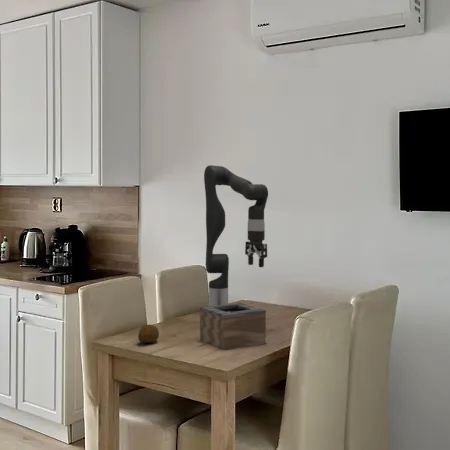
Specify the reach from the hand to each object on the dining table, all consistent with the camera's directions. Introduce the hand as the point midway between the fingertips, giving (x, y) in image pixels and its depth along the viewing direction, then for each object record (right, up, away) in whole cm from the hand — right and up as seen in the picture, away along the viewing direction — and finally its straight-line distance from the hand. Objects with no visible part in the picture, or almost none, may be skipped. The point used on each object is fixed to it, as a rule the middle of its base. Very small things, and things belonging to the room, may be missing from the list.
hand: (255, 265), depth 277 cm
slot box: (-11, -31, -15) cm, 36 cm away
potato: (-45, -31, -17) cm, 58 cm away
